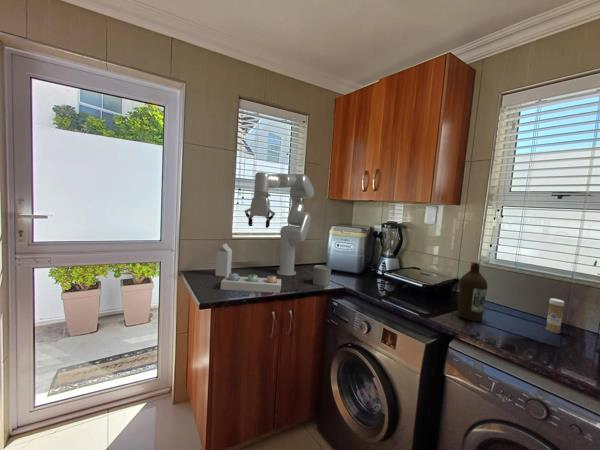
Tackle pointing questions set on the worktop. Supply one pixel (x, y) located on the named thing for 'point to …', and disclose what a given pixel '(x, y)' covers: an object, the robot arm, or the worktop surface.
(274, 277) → the button one
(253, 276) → the button three
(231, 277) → the button two
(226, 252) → the milk carton
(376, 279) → the worktop surface
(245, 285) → the button board
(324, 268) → the coffee mug
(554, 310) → the sprinkles bottle
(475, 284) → the olive oil
